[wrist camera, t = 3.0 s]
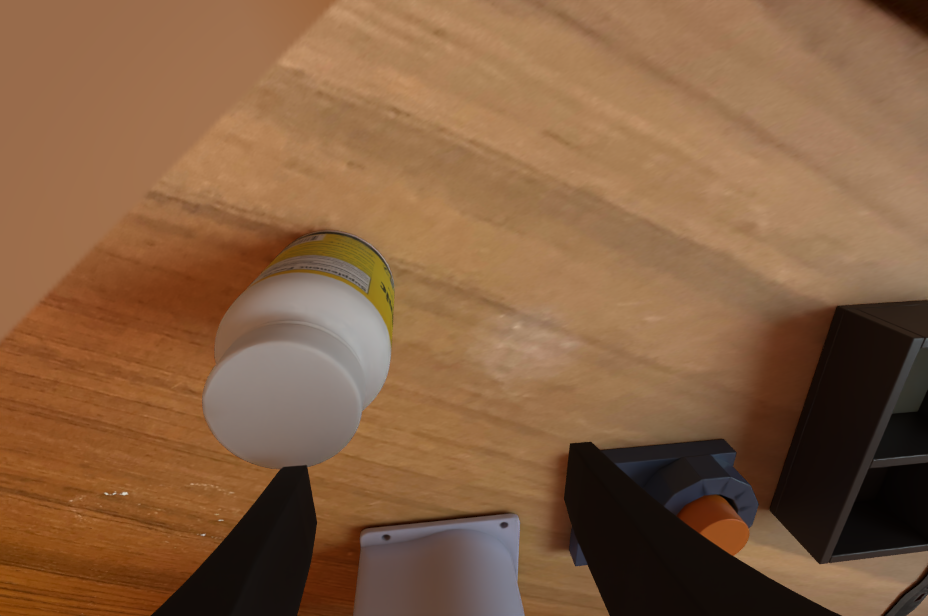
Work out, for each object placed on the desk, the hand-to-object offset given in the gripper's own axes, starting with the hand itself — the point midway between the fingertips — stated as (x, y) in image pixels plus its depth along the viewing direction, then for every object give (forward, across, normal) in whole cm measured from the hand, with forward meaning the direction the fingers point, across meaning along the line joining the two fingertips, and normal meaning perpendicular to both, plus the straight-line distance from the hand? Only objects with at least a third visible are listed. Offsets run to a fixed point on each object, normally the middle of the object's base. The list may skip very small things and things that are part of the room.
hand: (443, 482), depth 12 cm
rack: (+10, -26, +8) cm, 29 cm away
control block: (+10, -13, +13) cm, 21 cm away
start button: (+8, -15, +12) cm, 20 cm away
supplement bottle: (+11, +4, -2) cm, 12 cm away
